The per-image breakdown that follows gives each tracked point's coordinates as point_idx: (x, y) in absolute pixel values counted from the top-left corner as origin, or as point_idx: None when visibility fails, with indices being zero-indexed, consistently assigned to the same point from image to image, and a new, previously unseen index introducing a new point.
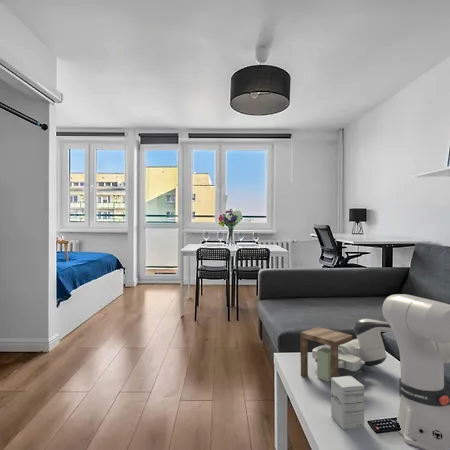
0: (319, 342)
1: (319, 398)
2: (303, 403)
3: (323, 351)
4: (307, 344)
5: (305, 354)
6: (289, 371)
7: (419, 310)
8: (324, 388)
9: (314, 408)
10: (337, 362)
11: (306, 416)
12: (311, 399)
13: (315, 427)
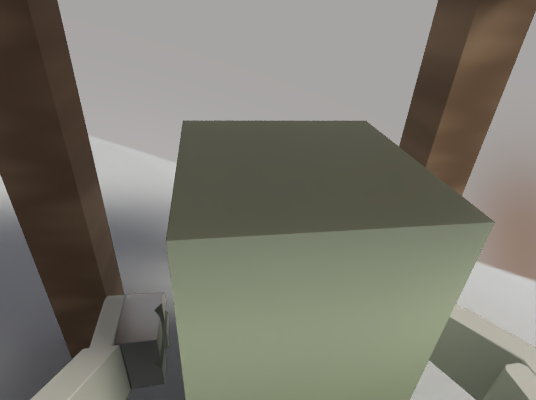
0: None
1: (120, 205)
2: (152, 163)
3: (272, 125)
4: (460, 52)
5: (407, 147)
6: (480, 282)
7: None
8: (156, 277)
9: (101, 164)
10: (2, 149)
11: (101, 140)
12: (145, 186)
13: None
